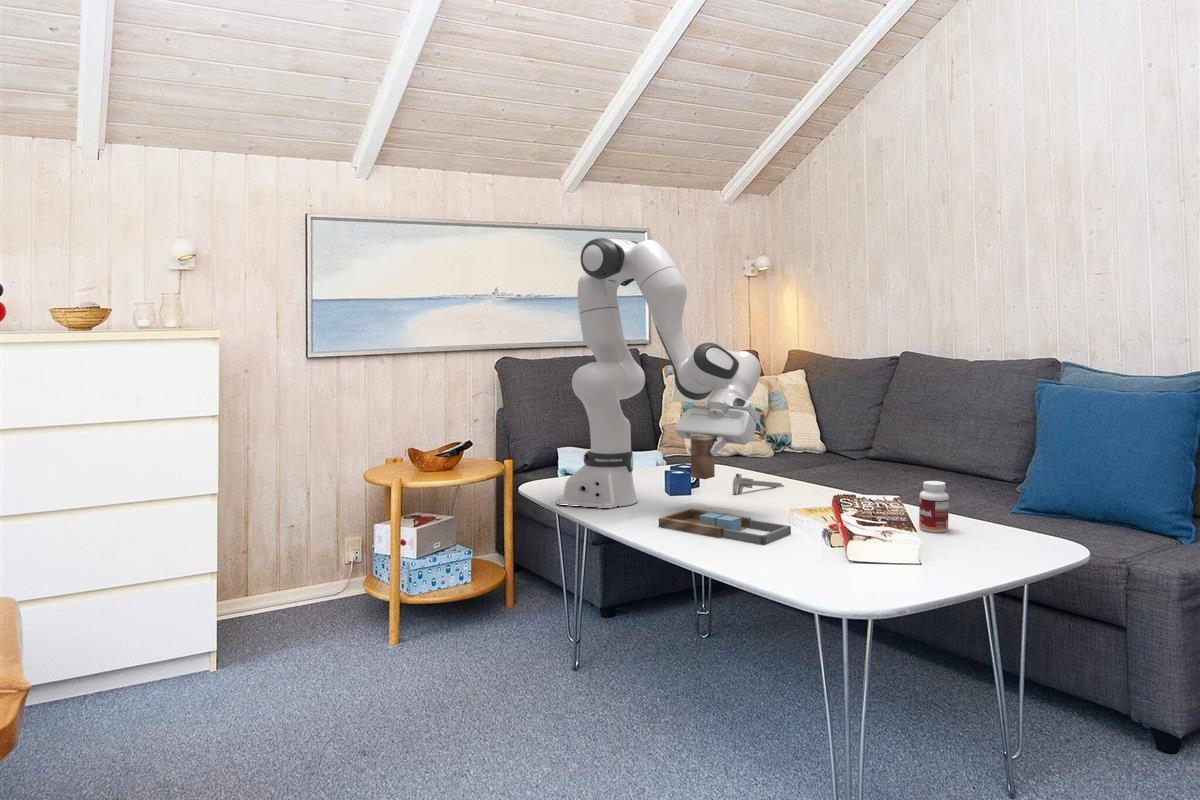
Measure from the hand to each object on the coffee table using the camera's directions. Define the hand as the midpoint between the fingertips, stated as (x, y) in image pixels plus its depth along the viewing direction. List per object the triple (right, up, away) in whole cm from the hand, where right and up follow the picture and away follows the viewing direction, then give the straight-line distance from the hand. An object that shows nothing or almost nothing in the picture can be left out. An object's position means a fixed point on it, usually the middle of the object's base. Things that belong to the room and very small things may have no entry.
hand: (701, 452), depth 187 cm
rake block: (+1, -6, +1) cm, 6 cm away
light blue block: (+5, -17, -7) cm, 19 cm away
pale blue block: (+2, -17, -4) cm, 18 cm away
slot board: (+1, -18, -3) cm, 18 cm away
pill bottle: (+53, -18, -5) cm, 56 cm away
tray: (+11, -19, -12) cm, 25 cm away
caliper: (+23, -14, +44) cm, 52 cm away
